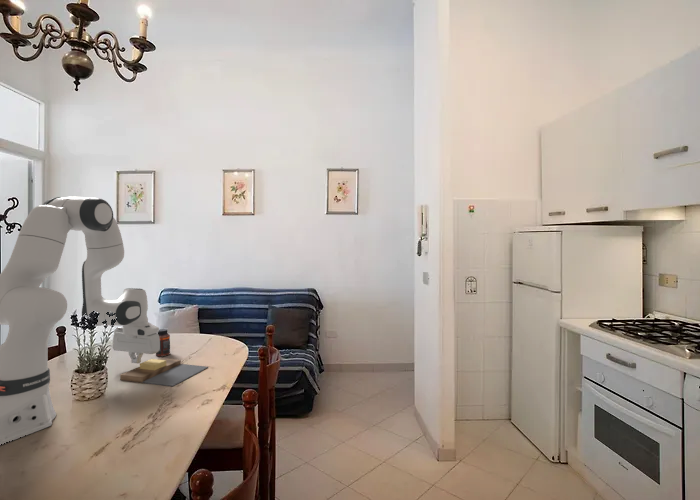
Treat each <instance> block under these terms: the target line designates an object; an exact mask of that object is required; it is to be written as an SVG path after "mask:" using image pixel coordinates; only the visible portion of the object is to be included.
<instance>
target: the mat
mask: <svg viewBox="0 0 700 500" xmlns="http://www.w3.org/2000/svg"><path fill="white" fill-rule="evenodd" d="M206 368H207V369H209V366H206V365H205V366H204V365H196V364H186V363H185V364H184V363H181V364H180V365H178V366H175V367H173V368H171V369H169V370H167V371H165V372H163V373H160V374H158V375H156V376H154V377H152V378H150V379H147V380H145V381H143V383H142V384H147V385H148V384H149V385H157V386H158V385H159V386H163V387H164V386H165V387H174V386H176V385H179V384H181V383H182V382H185V381H186V380H189V379H190V378H192V377H194V376H195V375H197V374H199V373H201V372H203V371H205V370H207V369H206ZM204 369H205V370H204ZM193 375H194V376H193Z"/></svg>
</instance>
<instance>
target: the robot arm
mask: <svg viewBox="0 0 700 500" xmlns="http://www.w3.org/2000/svg"><path fill="white" fill-rule="evenodd" d="M70 231H80V232H82V233H83V235H84V241H85V246H86V259H85V260H84V261H83V262H82V266H81V267H82V268H81V287H82V288H81V289H82V307H81V317H83V315H84V314H85V313H86V314H85V315H87V316H88V315H89V314H90V313H91V312H93V311H94V310H95V311H96V312H98V313H100V315H99V317H98V323H97V324H96V326H95V327H97V326H98V327H99V326H105V325H104V324H103V323H102V322H103V321H105V319H106V321H107V325H106V326H112V325H111V320H112V319H113V320H114V319H115V320H116V317H117V320H116V322H115V323H114V325H113V326H117V327H116V328H115V329H114V331H113V335H112V336H113V337H112V346H111V347H112V349H113V351H117V352H128V355H129V357H130V359H131V361H130V362H131V363H132V364H140V363H142V357H143V355H145V354H148V355H154V354H156V353H157V352H158V351H159V350H160V338H159V335H158V333H157V332H159V330H160V328H159V327H158V326H157V325H154V324H152V323H151V322H149V318H148V315H147V314H148V309H149V308H148V307H149V304H148V296H147V291H146V290H145V289H143V288H133V287H131V288H130V287H128V288H125V289H123V291H122V292H123V293H122V294H121V295H120V296H119V297H118V298H116V299H106V298H104V297H103V295H102V276H103V274H104V273H105V272H107V271H109V270H112V269H114V268H116V267H117V266H119V265H120V263H122V262H123V260H124V257H125V246H124V242H123V238H122V233H121V230H120V227H119V224H118V223H117V220H116V219H115V217H114V212H113V208H112V206H111V205H110V204H109V202H108V201H106V200H105V199H102V198H98V197H94V196H93V197H85V196H77V195H76V196H73V195H72V196H64V197H61V196H57V197H52V198H49V199H48V200H46V201H45V202H44V203H42V204H39V205H37V206H35V207H33V208H31V210H30V211H29V213H28V215H27V217H26V219H25V220H24V221H23V224H22V226H21V228H20V230H19V233H18V235H17V238H16V241H15V244H14V247H13V250H12V252H11V255H10V258H9V259H8V262H7V264H6V265H5V267H4V269H3V270H2V271H1V272H0V325H2V326H4V325H6V326H8V333H7V336H6V338H5V340H4V342H3V343H2V344H0V446H2V445H4V443H5V444H7V443H6V442H8V443H10V442H12V440H13V441H15V440H17V439H20V437H21V438H23V437H26V436H28V435H30V434H33V433H36V432H39V431H40V430H43V429H47V428H48V427H51V426H53V425H52V424H53V421H54V419H55V418H56V416H57V412H56V410H55V407H54V405H53V401H52V396H51V392H50V382H51V371H50V368H49V367H48V366H49V365H48V361H49V360H48V358H49V357H48V351H49V349H48V347H49V346H48V345H49V339H50V337H51V333H52V331H53V330H54V327H55V325H57V323H58V322H60V321H61V320H62V319H63V318H64V316H65V314H66V313H67V310H68V301H67V299H66V296H65V295H64V294H62V292H60V291H58V290H54V289H51V288H47V287H42V286H41V285H42V283H43V282H45V280H46V279H47V278H48V277H50V276H51V275H53V274H54V273H56V271H57V270H58V268H59V264H60V262H61V258H62V256H63V252H64V249H65V245H66V242H67V238H68V233H69V232H70ZM40 286H41V287H40ZM108 310H109V311H108ZM110 311H111V312H113V314H114V313H116V314H115V315H113V316H110V317H109V315H107V314H106V313H107V312H109V314H110V313H111V312H110ZM25 435H26V436H25ZM9 441H10V442H9ZM1 444H2V445H1Z"/></svg>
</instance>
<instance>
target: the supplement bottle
mask: <svg viewBox="0 0 700 500" xmlns="http://www.w3.org/2000/svg"><path fill="white" fill-rule="evenodd" d="M157 334H158V335H159V338H160V350H159V351H158V352H157V353H155V356H156V357H165V356H169V355H170V354H171V336H170V334H169V333H168V329H167V328H161V329H160V328H159V332H157Z"/></svg>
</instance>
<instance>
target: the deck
mask: <svg viewBox="0 0 700 500" xmlns="http://www.w3.org/2000/svg"><path fill="white" fill-rule="evenodd" d="M157 359H158V360H166V366H164V367H161V368H159V369H157V370H146V369H140V366H138V367H135V368H133V369H131V370H128V371H125V372H123V373H120V374H119V377H120V378H119V379H120V381H127V382H134V383H142V384H144V383H143V381H145V380H147V379H150V378H152V377H154V376H156V375H158V374H160V373H163V372H165V371H167V370H169V369H171V368H173V367H175V366H178V365H180V364H182V361H181V359H175V358H168V357H167V358H165V357H159V358H157Z"/></svg>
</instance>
